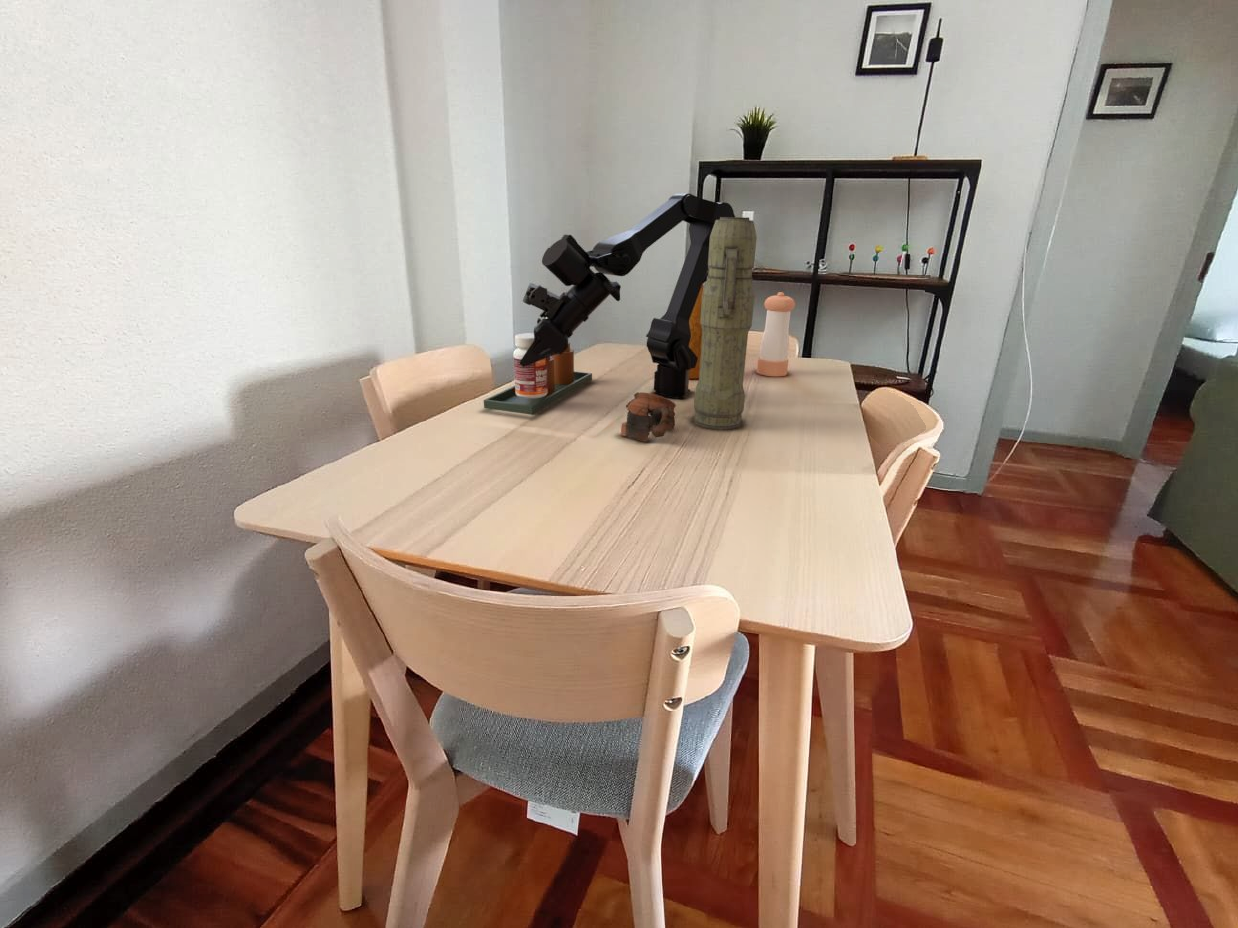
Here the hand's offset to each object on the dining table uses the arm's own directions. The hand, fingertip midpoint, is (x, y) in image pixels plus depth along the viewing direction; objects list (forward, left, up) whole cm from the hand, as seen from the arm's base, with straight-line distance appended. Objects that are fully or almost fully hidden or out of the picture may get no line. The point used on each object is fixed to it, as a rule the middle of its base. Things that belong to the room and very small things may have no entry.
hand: (522, 360), depth 114 cm
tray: (+1, -9, -9) cm, 13 cm away
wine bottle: (-22, -40, -9) cm, 47 cm away
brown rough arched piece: (-27, +5, -9) cm, 29 cm away
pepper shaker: (-40, -51, -9) cm, 66 cm away
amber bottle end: (+1, -19, -8) cm, 20 cm away
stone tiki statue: (-36, -7, -9) cm, 38 cm away
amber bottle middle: (+1, -9, -8) cm, 12 cm away
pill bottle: (-1, -1, -7) cm, 7 cm away
